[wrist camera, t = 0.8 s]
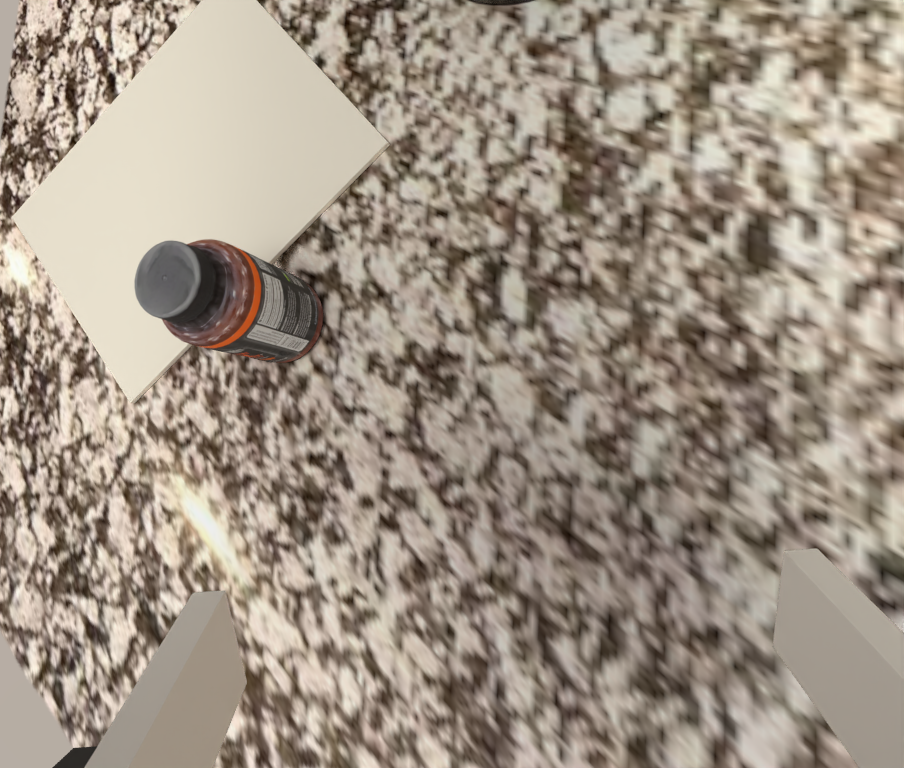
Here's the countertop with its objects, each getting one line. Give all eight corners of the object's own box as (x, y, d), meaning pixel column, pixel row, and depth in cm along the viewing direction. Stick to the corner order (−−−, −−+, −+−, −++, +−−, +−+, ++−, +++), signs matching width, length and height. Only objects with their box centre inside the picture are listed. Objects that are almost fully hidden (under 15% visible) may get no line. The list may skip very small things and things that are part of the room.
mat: (232, -27, 44) (228, -30, 44) (390, 144, 39) (387, 142, 39) (16, 219, 48) (11, 217, 48) (134, 403, 43) (130, 402, 43)
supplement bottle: (239, 352, 41) (101, 320, 30) (264, 270, 41) (135, 209, 30) (312, 375, 39) (192, 350, 29) (338, 289, 39) (228, 231, 29)
